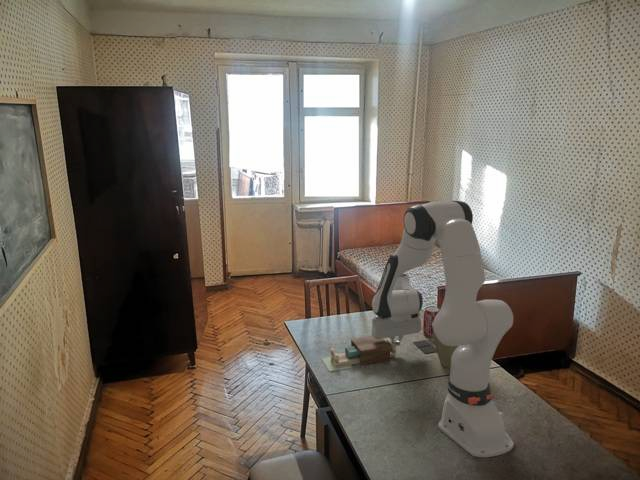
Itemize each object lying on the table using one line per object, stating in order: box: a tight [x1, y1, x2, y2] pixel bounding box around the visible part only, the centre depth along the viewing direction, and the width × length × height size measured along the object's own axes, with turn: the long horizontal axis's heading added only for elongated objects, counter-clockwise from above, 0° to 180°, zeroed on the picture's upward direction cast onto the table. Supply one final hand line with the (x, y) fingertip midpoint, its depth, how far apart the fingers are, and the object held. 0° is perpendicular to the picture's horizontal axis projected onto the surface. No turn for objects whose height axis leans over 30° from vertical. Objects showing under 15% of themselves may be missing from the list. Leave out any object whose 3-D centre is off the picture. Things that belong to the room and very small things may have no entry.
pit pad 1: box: [413, 339, 432, 349], centre depth 191 cm, size 5×6×1 cm
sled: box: [330, 338, 397, 367], centre depth 179 cm, size 6×25×5 cm, turn 107°
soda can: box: [422, 305, 440, 338], centre depth 198 cm, size 7×7×12 cm
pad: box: [321, 356, 353, 373], centre depth 177 cm, size 10×9×1 cm
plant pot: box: [432, 321, 458, 369], centre depth 174 cm, size 15×15×16 cm
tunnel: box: [350, 335, 391, 367], centre depth 180 cm, size 10×12×6 cm
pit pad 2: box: [419, 345, 437, 355], centre depth 186 cm, size 5×6×1 cm
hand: (395, 345), depth 183 cm, fingers closed
